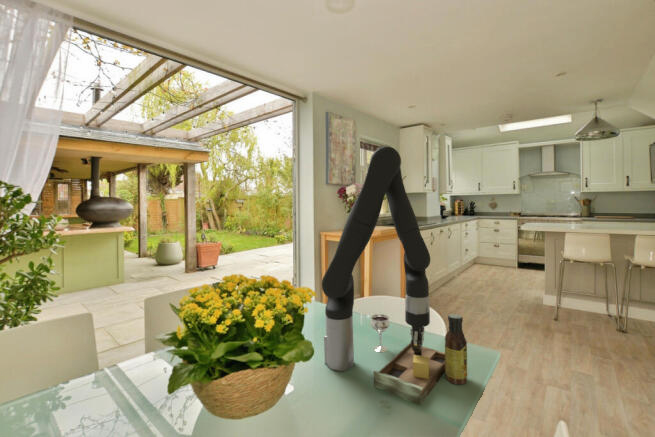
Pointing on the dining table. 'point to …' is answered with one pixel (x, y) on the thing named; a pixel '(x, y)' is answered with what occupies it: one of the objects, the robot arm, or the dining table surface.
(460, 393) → the dining table surface
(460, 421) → the dining table surface
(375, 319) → the wineglass
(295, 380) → the dining table surface
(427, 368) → the mustard block
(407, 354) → the trap deck
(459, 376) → the sauce bottle
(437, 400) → the dining table surface
